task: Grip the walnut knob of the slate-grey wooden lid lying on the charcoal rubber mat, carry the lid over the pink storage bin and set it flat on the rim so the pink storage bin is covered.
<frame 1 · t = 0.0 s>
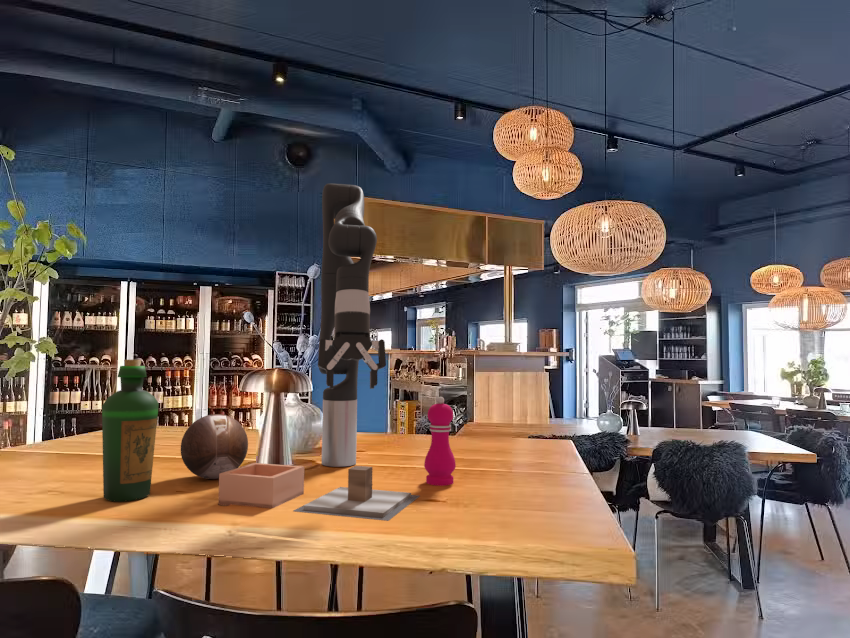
hand: (351, 388, 121), 22 cm above the table, tool pointing down, fingers open, 8 cm apart
lid: (359, 502, 113), resting on mat
bottle: (127, 498, 117), on the table
pink storage bin: (262, 500, 116), on the table
mat: (359, 504, 113), on the table
wooden sphere: (213, 479, 136), on the table
pepper mill: (439, 485, 132), on the table
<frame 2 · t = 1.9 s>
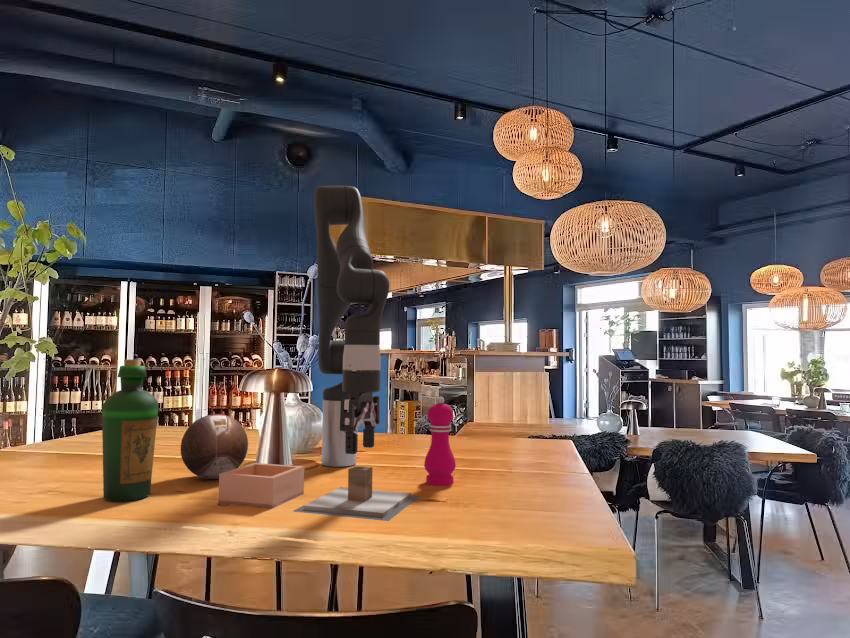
hand: (360, 450, 114), 11 cm above the table, tool pointing down, fingers open, 8 cm apart
nothing on the table moved.
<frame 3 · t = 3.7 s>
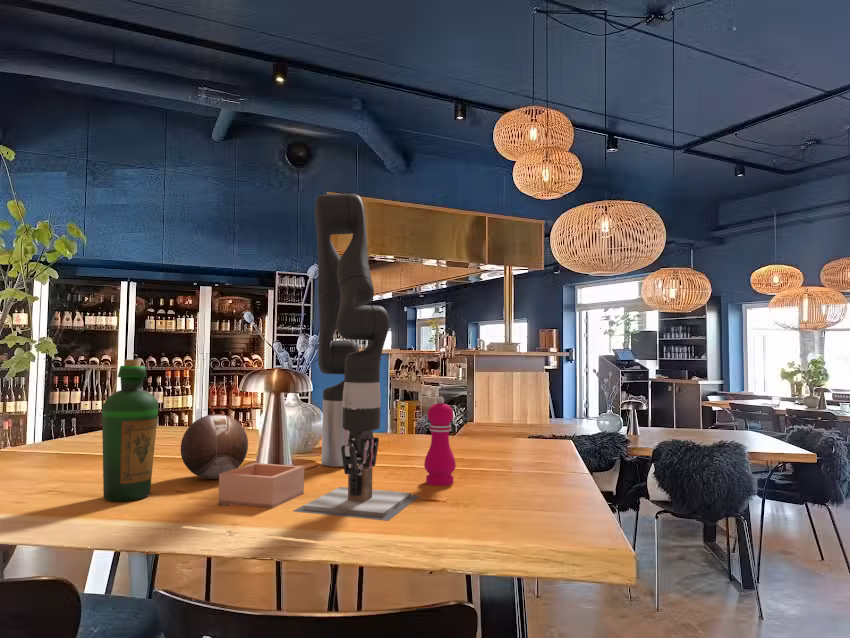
hand: (360, 492, 114), 2 cm above the table, tool pointing down, fingers closed on lid, 3 cm apart
lid: (360, 502, 113), resting on mat, touching gripper
everything else where it was.
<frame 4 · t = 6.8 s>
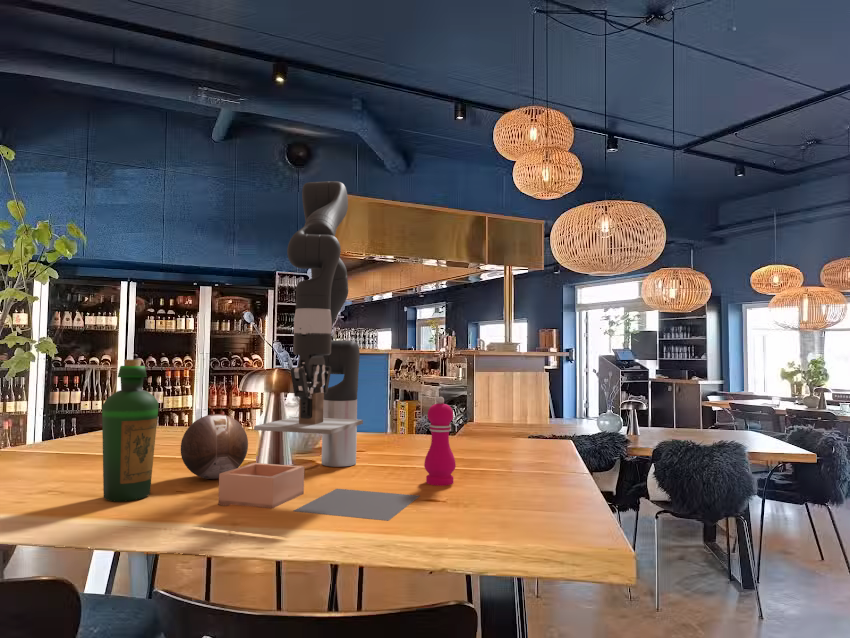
hand: (311, 416, 116), 17 cm above the table, tool pointing down, fingers closed on lid, 3 cm apart
lid: (311, 426, 116), point 15 cm above the table, touching gripper
everything else where it was.
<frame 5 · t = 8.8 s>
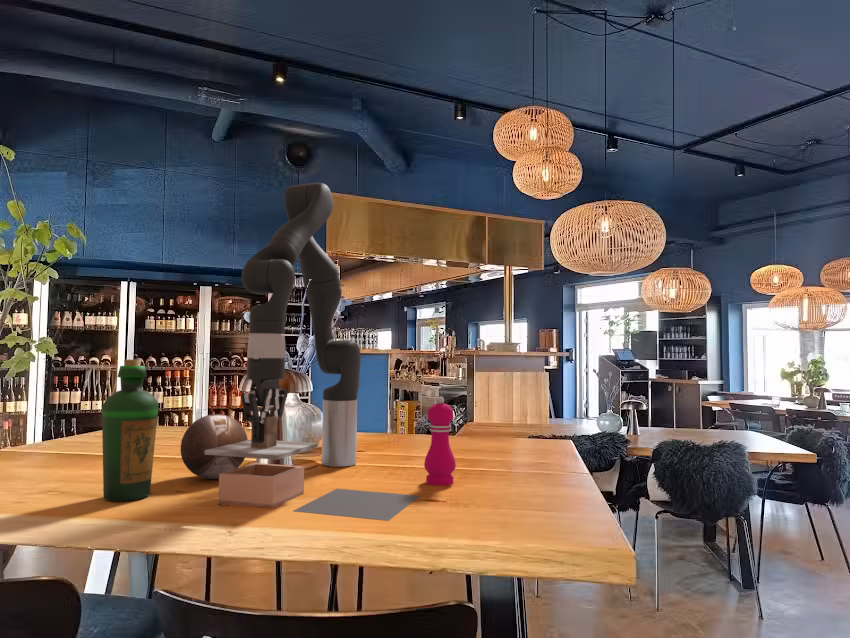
hand: (263, 440, 117), 12 cm above the table, tool pointing down, fingers closed on lid, 3 cm apart
lid: (263, 450, 117), point 10 cm above the table, touching gripper
everything else where it was.
when the fingers open (9 cm above the table, at t = 10.1 s): lid drops 1 cm, resting on pink storage bin.
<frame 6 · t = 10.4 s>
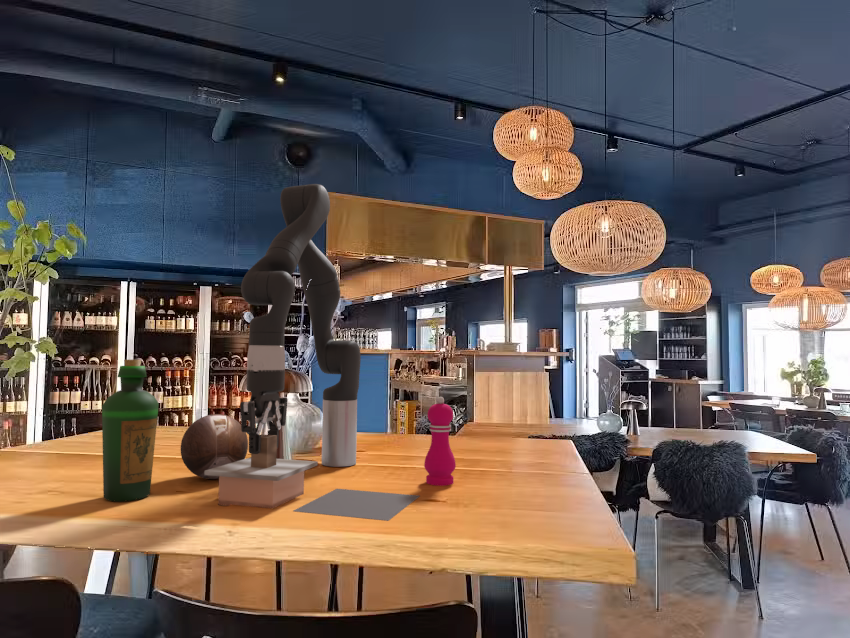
hand: (263, 450, 117), 10 cm above the table, tool pointing down, fingers open, 6 cm apart
lid: (263, 469, 117), point 6 cm above the table, touching pink storage bin
everything else where it was.
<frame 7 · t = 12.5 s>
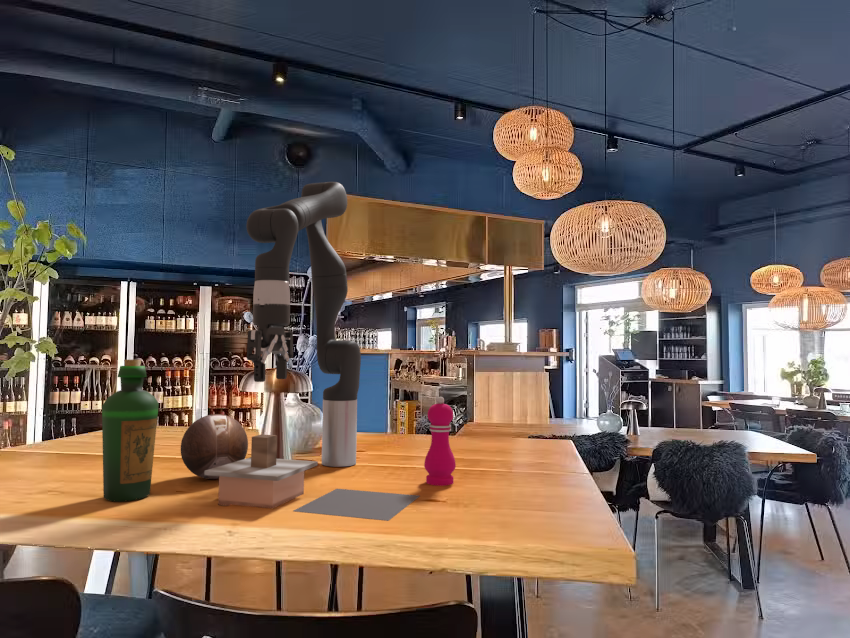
hand: (270, 380, 121), 24 cm above the table, tool pointing down, fingers open, 8 cm apart
nothing on the table moved.
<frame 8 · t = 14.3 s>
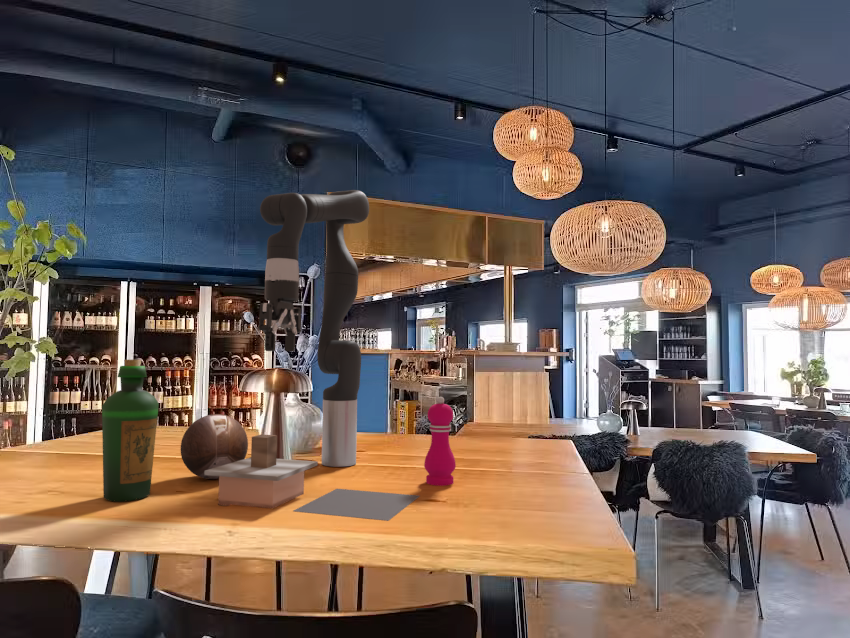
hand: (280, 351, 131), 30 cm above the table, tool pointing down, fingers open, 8 cm apart
nothing on the table moved.
at the end: lid 0.1 cm off-centre on the pink storage bin, point 6.0 cm above the pink storage bin's base; lid tilted 0°; the gripper is holding nothing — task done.
